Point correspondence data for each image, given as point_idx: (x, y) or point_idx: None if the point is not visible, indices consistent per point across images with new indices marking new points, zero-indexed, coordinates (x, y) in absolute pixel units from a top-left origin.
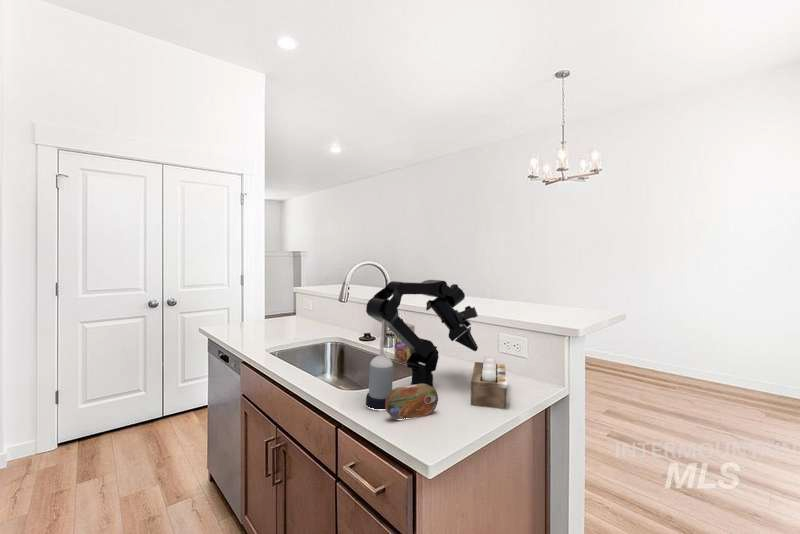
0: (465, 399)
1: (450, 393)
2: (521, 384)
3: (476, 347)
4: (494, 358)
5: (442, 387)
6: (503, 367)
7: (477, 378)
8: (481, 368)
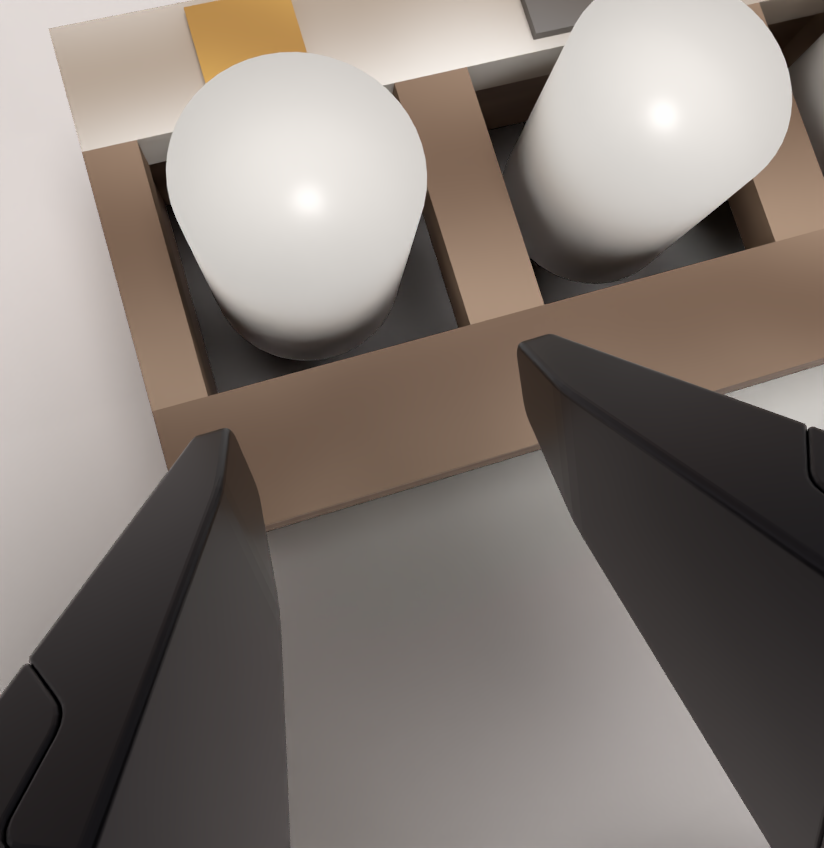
0: None
1: None
2: (18, 27)
3: (554, 353)
4: (234, 94)
5: (626, 816)
6: (286, 6)
7: None
8: (505, 318)
